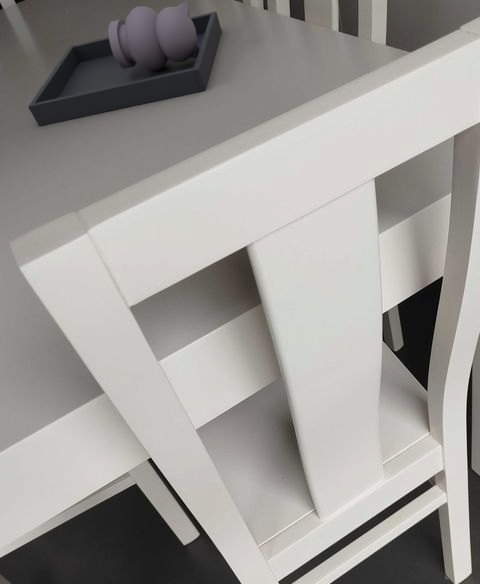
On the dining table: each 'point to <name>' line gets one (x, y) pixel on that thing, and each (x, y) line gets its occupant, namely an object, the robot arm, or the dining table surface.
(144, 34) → the cat figurine
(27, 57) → the dining table surface
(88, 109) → the tray
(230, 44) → the dining table surface
